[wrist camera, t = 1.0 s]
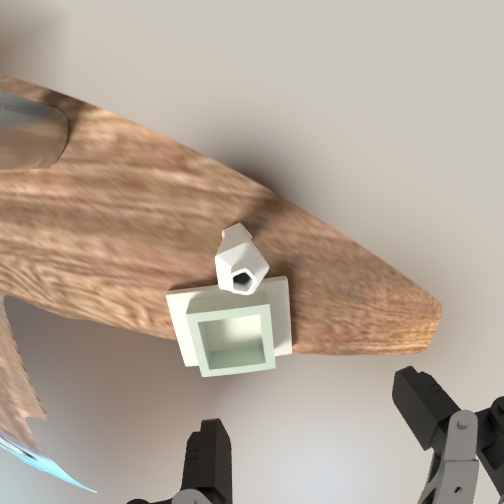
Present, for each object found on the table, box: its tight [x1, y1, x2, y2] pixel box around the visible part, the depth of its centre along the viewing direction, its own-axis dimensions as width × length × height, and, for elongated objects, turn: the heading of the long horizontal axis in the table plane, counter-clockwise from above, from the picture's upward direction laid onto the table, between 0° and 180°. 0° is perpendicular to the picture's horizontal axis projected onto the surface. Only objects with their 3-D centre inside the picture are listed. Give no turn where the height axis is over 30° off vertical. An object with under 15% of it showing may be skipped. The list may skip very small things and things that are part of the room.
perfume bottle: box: [215, 223, 269, 295], centre depth 27 cm, size 5×4×15 cm
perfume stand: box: [166, 276, 292, 377], centre depth 35 cm, size 16×12×6 cm
